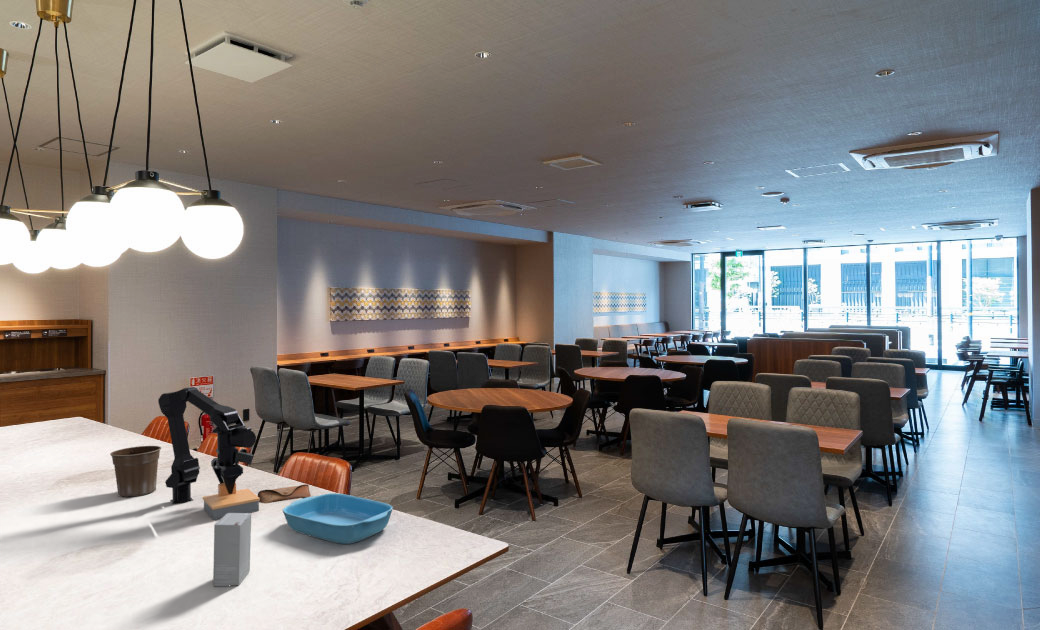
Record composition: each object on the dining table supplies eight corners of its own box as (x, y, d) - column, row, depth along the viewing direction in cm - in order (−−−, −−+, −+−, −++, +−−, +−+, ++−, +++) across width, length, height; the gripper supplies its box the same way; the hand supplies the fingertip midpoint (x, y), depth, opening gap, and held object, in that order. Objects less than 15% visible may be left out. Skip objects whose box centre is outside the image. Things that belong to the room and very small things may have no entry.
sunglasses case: (260, 506, 210) (259, 487, 213) (258, 511, 215) (256, 493, 218) (314, 497, 219) (311, 479, 222) (310, 503, 224) (308, 485, 227)
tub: (203, 510, 206) (203, 499, 206) (247, 502, 214) (247, 491, 214) (213, 521, 195) (213, 509, 195) (258, 512, 204) (258, 500, 204)
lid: (202, 501, 206) (202, 486, 206) (248, 493, 215) (247, 478, 215) (212, 512, 194) (212, 496, 194) (259, 503, 204) (259, 487, 203)
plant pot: (100, 496, 223) (99, 453, 223) (142, 484, 238) (141, 444, 238) (130, 501, 217) (130, 456, 217) (171, 489, 232) (171, 447, 232)
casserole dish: (269, 529, 188) (268, 507, 188) (326, 509, 207) (326, 488, 207) (351, 554, 168) (351, 528, 168) (407, 529, 187) (406, 506, 187)
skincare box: (225, 573, 156) (224, 512, 156) (253, 572, 157) (252, 511, 157) (211, 588, 148) (210, 523, 147) (241, 586, 148) (240, 522, 148)
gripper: (258, 447, 206) (259, 492, 207) (244, 438, 221) (244, 480, 221) (223, 451, 199) (224, 499, 200) (210, 442, 214) (211, 486, 214)
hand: (227, 490), depth 209 cm, fingers open, 9 cm apart
